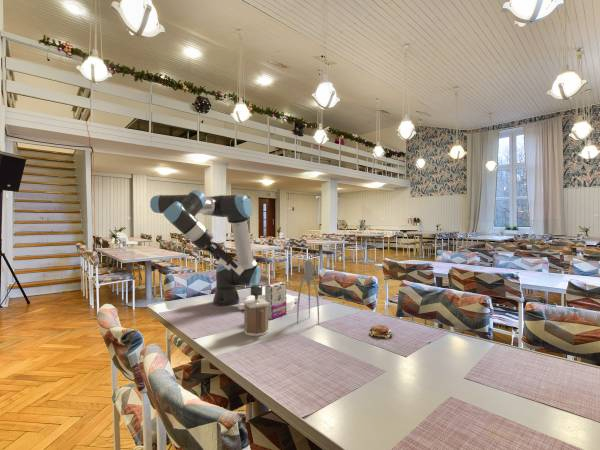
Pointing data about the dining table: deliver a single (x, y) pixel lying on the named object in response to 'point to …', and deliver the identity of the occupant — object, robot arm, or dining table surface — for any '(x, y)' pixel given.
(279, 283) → the candy bar box
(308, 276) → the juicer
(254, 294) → the dark knobbed rod
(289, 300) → the white circle with bar
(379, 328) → the hamburger
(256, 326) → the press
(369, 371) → the dining table surface
